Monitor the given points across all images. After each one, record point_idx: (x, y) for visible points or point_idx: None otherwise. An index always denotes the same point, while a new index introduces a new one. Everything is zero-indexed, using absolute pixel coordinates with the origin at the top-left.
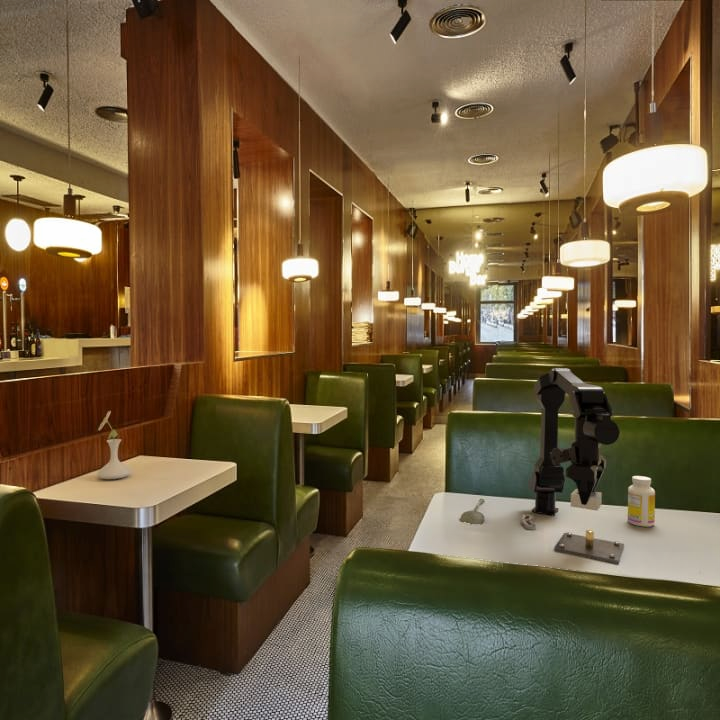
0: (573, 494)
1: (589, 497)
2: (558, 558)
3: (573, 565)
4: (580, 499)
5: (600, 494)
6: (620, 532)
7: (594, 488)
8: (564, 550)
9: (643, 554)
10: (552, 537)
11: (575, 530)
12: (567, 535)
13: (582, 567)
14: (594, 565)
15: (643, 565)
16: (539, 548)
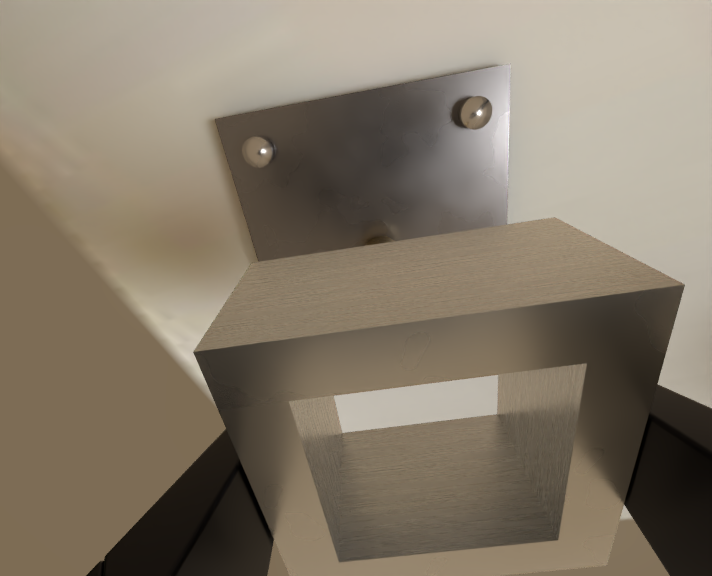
0: (213, 386)
1: (266, 539)
2: (150, 177)
3: (139, 258)
4: (216, 439)
5: (508, 570)
6: (706, 287)
7: (660, 559)
8: (235, 176)
9: (460, 404)
10: (426, 10)
11: (643, 86)
12: (461, 104)
13: (154, 290)
14: (214, 316)
15: (351, 423)
16: (184, 27)
